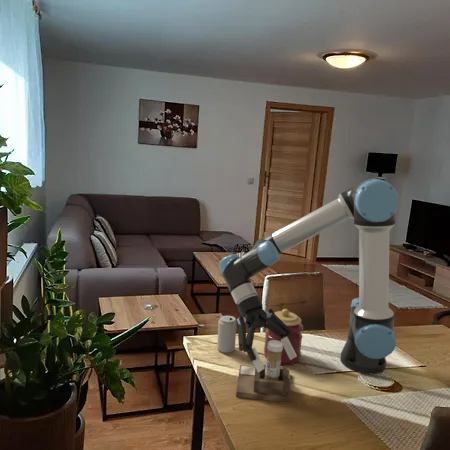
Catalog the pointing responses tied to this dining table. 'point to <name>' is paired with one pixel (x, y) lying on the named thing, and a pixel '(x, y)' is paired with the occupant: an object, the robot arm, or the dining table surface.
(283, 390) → the spice caddy
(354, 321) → the robot arm
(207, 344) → the dining table surface
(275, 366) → the sprinkles bottle
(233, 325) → the beverage can
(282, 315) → the canister
